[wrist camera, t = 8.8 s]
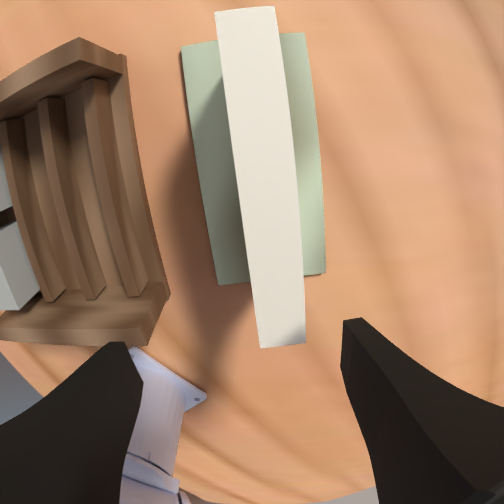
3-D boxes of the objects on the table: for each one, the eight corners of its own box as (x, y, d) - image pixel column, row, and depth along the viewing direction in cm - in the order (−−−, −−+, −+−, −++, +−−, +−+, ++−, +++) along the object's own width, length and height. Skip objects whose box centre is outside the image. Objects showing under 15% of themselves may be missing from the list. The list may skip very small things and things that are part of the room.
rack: (34, 302, 21) (-2, 341, 15) (-14, 123, 14) (-65, 132, 9) (324, 276, 20) (348, 329, 14) (301, 27, 13) (325, -13, 8)
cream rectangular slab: (255, 262, 19) (260, 348, 11) (229, 63, 14) (214, 11, 7) (284, 258, 19) (306, 342, 11) (262, 60, 14) (273, 5, 7)
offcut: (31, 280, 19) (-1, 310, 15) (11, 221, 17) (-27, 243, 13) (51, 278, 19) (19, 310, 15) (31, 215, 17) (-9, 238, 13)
